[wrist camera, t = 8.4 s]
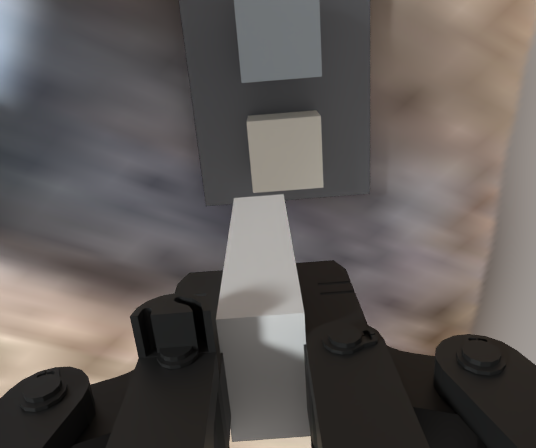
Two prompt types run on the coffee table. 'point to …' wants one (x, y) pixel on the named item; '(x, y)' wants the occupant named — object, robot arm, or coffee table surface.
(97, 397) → the robot arm
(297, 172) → the key ivory
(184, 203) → the coffee table surface
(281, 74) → the key slate
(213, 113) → the keypad base
